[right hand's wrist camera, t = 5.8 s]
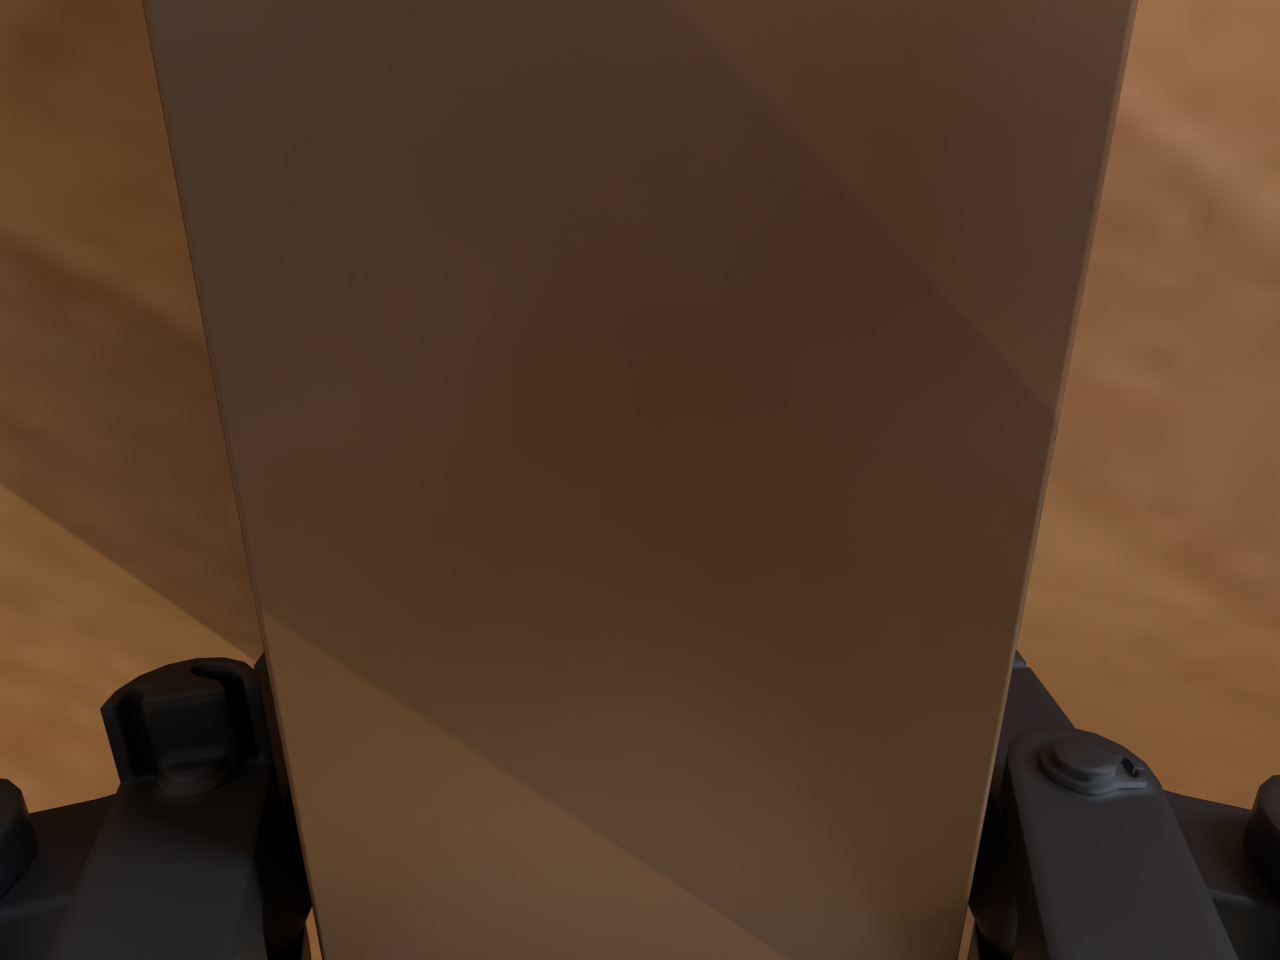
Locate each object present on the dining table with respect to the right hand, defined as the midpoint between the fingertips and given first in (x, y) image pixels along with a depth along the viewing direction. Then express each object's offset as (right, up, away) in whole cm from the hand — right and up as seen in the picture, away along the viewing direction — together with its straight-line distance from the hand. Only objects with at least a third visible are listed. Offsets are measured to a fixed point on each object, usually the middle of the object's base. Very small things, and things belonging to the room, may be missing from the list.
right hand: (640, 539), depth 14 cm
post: (0, +18, -6) cm, 19 cm away
